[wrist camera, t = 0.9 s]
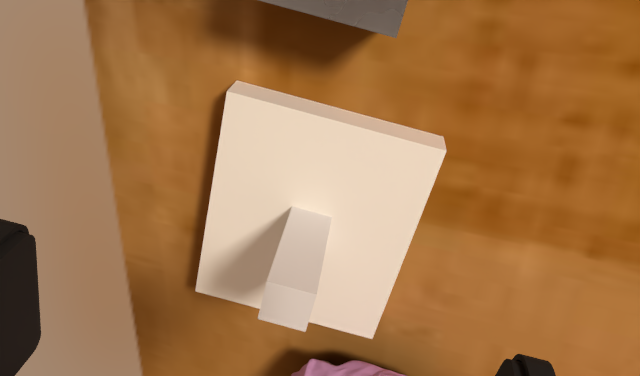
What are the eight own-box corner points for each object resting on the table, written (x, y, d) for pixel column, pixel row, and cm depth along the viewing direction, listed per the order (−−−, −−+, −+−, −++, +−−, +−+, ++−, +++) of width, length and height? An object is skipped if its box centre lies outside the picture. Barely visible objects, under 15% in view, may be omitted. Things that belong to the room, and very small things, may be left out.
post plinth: (236, 80, 29) (179, 142, 22) (443, 136, 29) (462, 219, 22) (204, 272, 36) (152, 374, 28) (373, 318, 36) (367, 432, 28)
